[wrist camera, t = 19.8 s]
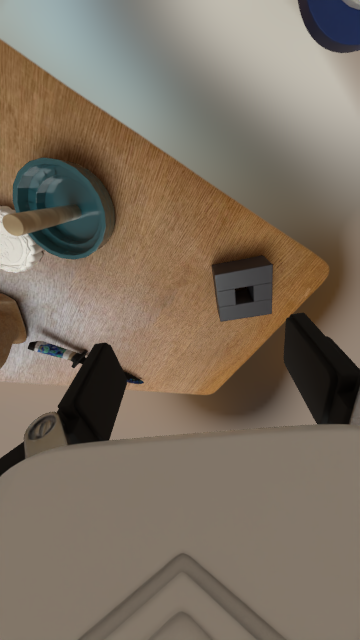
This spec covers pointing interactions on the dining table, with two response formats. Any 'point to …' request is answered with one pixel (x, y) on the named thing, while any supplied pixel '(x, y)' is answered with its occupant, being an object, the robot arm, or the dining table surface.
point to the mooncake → (17, 248)
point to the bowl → (59, 190)
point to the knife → (70, 356)
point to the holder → (243, 274)
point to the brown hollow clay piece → (10, 326)
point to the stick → (39, 219)
